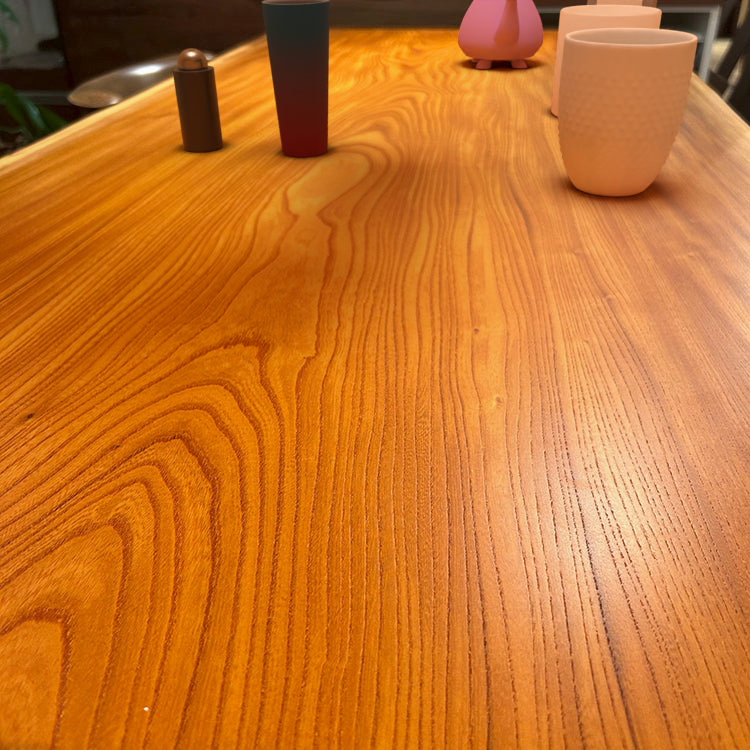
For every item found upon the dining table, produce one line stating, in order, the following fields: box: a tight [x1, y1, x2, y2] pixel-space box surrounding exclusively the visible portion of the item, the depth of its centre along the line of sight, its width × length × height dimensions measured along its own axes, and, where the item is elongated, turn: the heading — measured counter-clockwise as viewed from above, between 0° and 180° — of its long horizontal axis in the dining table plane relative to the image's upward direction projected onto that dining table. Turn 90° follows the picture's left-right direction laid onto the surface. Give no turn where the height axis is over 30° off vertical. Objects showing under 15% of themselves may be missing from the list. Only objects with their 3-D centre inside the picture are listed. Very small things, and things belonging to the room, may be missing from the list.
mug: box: [557, 28, 699, 197], centre depth 71 cm, size 15×11×13 cm
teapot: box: [457, 0, 544, 70], centre depth 128 cm, size 20×14×12 cm
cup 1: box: [261, 0, 330, 158], centre depth 82 cm, size 7×7×15 cm
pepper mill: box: [172, 47, 224, 153], centre depth 85 cm, size 4×4×10 cm
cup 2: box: [550, 4, 663, 118], centre depth 96 cm, size 12×12×12 cm
